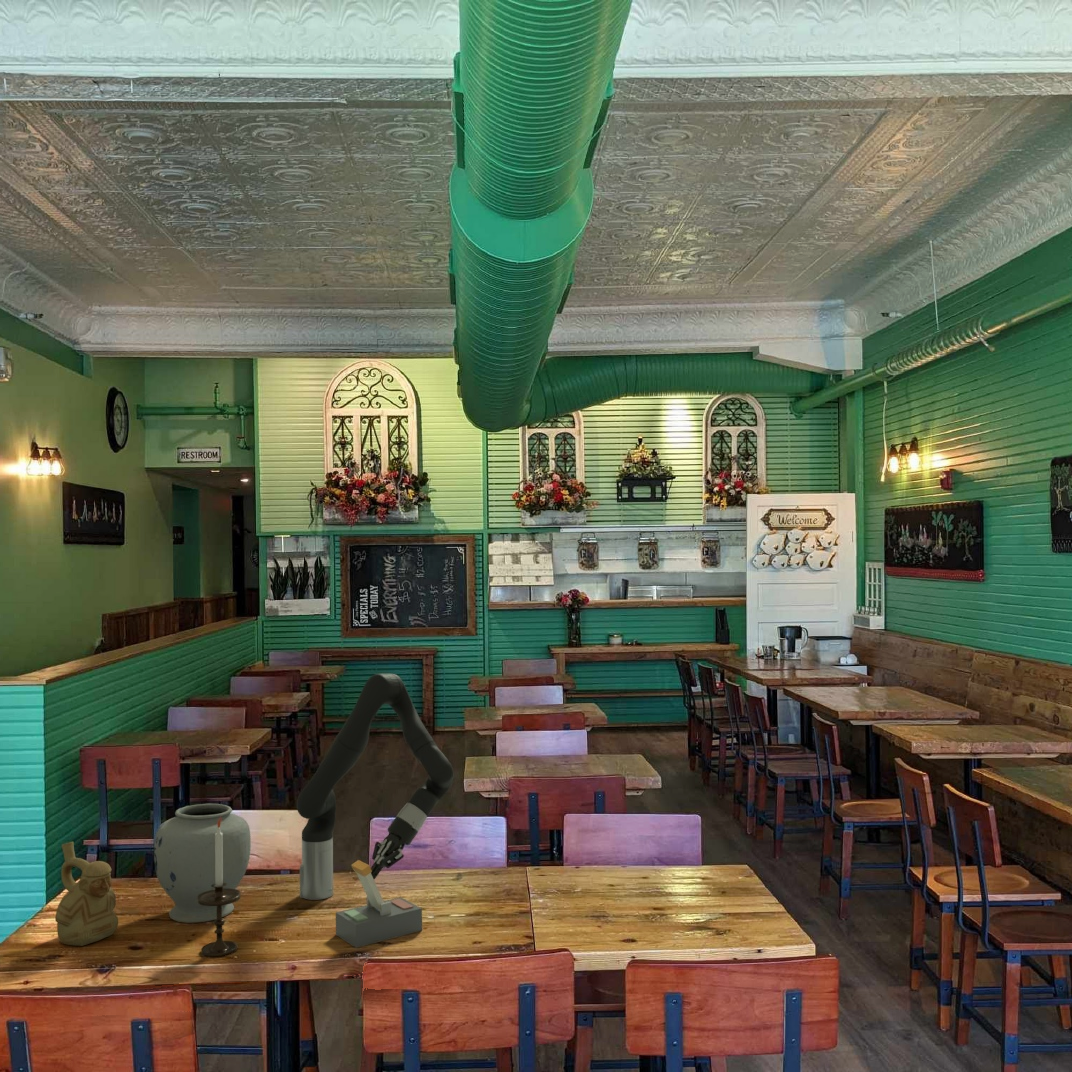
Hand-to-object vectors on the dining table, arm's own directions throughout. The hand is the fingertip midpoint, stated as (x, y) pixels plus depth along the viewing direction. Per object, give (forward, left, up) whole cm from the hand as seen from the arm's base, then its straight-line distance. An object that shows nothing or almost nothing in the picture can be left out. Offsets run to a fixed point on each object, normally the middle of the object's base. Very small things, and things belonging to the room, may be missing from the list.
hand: (370, 877), depth 272 cm
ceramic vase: (-54, +12, -16) cm, 58 cm away
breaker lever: (+2, +2, -8) cm, 9 cm away
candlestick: (-36, -15, -16) cm, 42 cm away
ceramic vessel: (-77, -10, -16) cm, 79 cm away
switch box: (+2, +2, -15) cm, 16 cm away
